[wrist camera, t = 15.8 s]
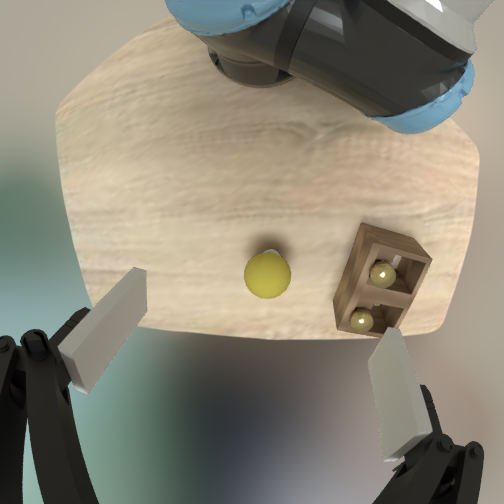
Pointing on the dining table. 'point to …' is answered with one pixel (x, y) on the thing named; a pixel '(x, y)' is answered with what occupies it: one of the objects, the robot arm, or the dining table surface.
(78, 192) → the dining table surface
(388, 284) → the post
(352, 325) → the post
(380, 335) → the keyhole block
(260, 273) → the light bulb
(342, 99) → the robot arm
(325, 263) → the dining table surface
